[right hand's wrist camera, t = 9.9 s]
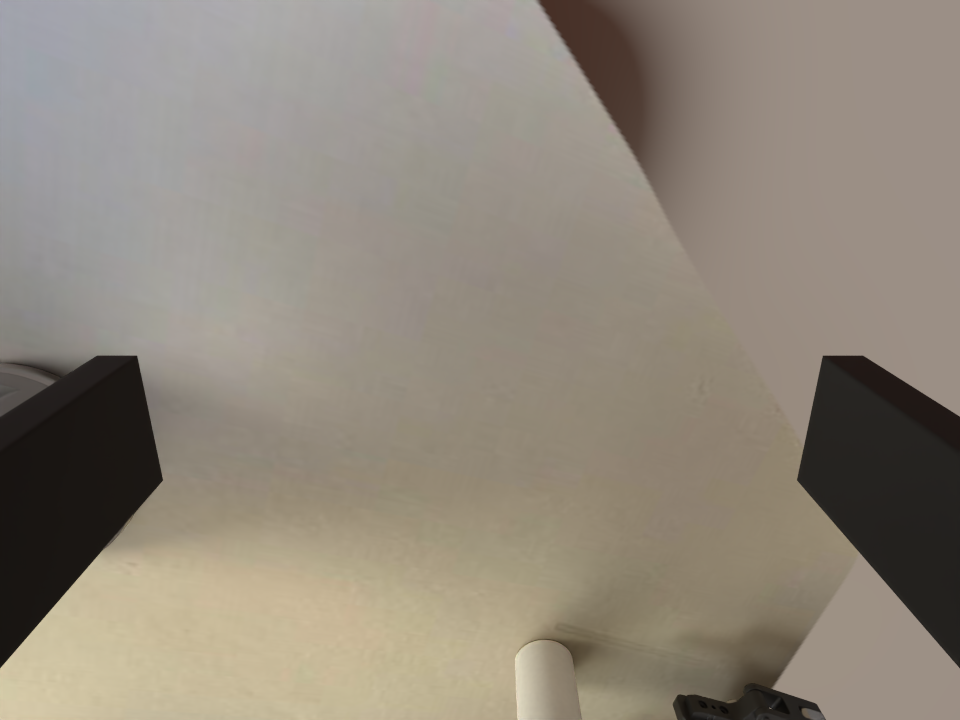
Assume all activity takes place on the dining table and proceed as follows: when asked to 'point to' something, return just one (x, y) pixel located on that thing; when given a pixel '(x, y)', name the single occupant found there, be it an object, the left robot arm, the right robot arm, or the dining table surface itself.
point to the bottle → (546, 682)
